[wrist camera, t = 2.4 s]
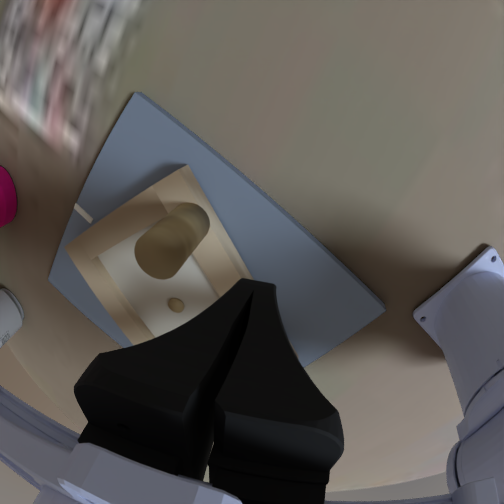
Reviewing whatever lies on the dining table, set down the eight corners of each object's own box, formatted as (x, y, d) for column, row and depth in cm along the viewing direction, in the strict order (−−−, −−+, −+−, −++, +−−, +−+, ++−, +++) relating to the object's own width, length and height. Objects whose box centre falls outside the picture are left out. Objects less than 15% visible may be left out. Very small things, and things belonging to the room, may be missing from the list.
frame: (301, 355, 23) (293, 418, 18) (180, 381, 27) (157, 430, 22) (190, 163, 18) (140, 189, 13) (75, 239, 22) (25, 275, 17)
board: (384, 303, 21) (386, 311, 20) (222, 408, 30) (219, 415, 29) (141, 92, 17) (134, 92, 17) (52, 276, 26) (47, 280, 25)
